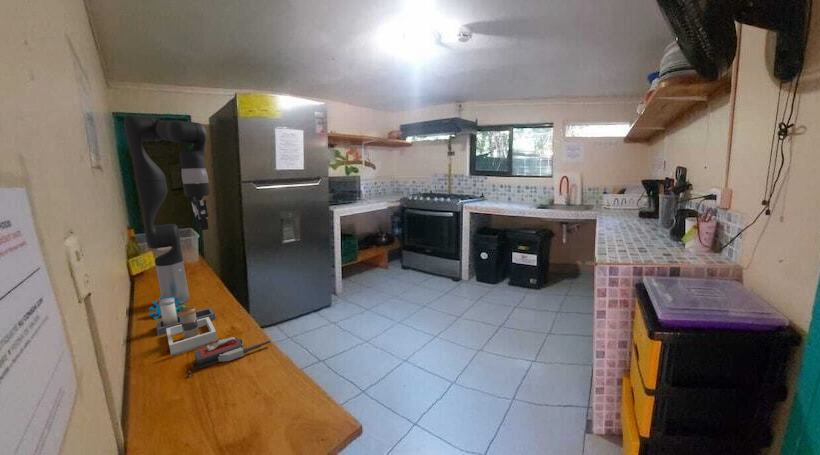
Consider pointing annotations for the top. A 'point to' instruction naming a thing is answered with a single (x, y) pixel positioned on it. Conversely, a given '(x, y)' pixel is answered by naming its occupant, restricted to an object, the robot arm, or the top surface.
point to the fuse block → (199, 315)
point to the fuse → (168, 311)
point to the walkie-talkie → (222, 352)
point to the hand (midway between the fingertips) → (202, 228)
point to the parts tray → (193, 341)
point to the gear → (158, 310)
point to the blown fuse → (189, 322)
